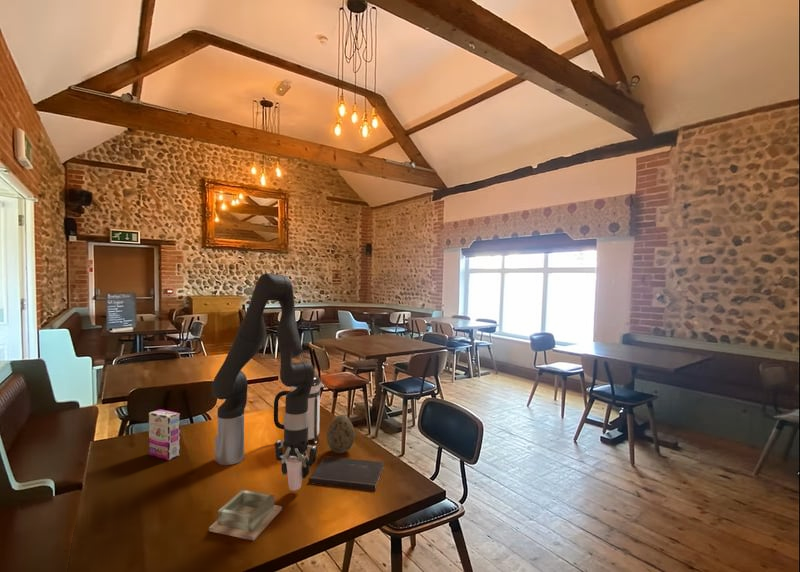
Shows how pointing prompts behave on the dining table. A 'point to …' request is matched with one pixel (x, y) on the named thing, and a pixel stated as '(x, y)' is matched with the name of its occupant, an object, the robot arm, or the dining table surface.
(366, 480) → the hardcover book
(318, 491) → the dining table surface
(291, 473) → the smoothie
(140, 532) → the dining table surface
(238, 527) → the green glass shallow box
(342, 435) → the decorative egg
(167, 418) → the candy bar box
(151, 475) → the dining table surface
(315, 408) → the coffee press
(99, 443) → the dining table surface
